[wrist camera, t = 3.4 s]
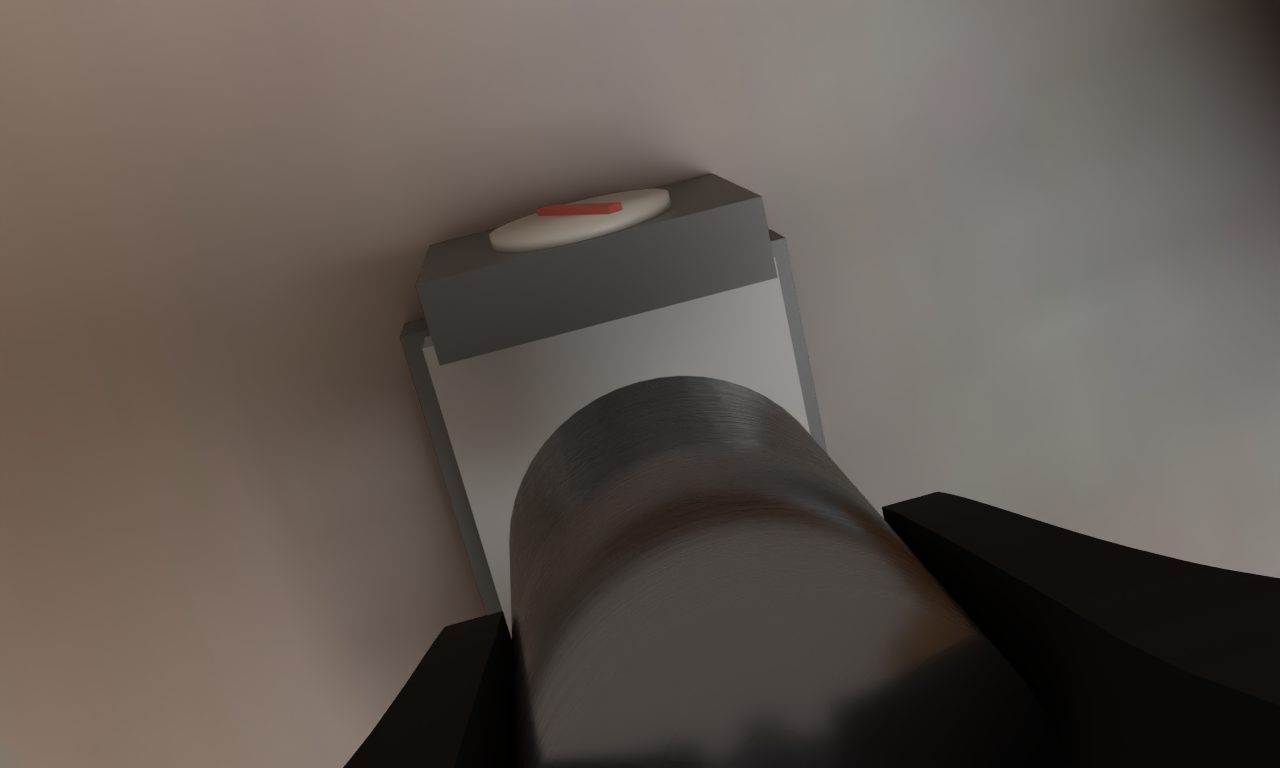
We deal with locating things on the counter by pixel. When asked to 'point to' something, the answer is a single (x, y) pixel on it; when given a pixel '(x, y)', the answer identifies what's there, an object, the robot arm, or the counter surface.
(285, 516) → the counter surface
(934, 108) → the counter surface
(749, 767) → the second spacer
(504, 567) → the dial scale
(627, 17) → the counter surface
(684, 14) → the counter surface
